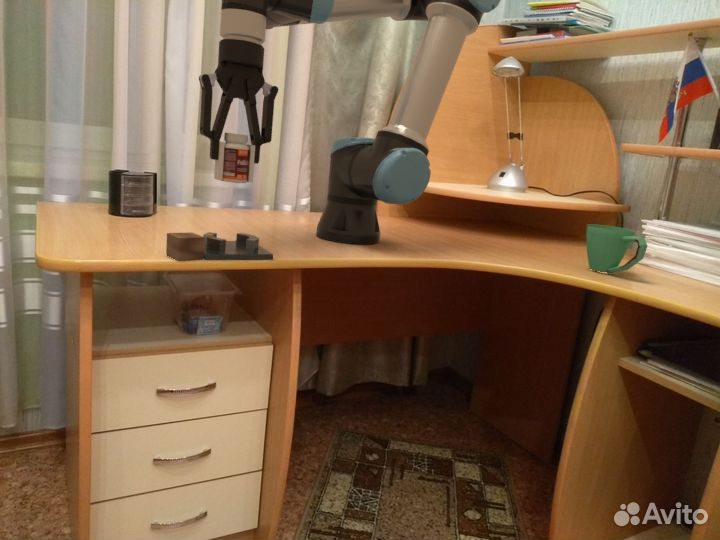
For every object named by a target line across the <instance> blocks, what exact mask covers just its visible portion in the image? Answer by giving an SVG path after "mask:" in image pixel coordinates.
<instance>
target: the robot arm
mask: <svg viewBox="0 0 720 540" xmlns="http://www.w3.org/2000/svg"><path fill="white" fill-rule="evenodd" d="M501 1H502V0H221V9H220V26H219V36H220V37H221V38H222V39H220V41H218V55H217V57H218V59H217V67H216V69H215V71H214V73H209V74H207V73H203V74H200V75H199V76H198V81H199V85H200V88H201V97H200V98H201V100H200V103H201V104H200V118H199V119H200V120H199V121H200V123H199V134H200V135H201V136H204V137H206V138H207V139H209V141H210V142H209V143H210V144H209V158H210V160H213V161H214V171H213V172H214V176H213V179H214V180H217V181H221V180H222V179H223V162H224V145H225V142H226V141H220V140H221V138H222V134H223V131H224V128H225V126H226V123H227V118H228V115H229V113H230V112H229V111H230V108H231V105H232V103H233V102H234V99H239V100H241V101H243V105H244V109H245V113H246V120H247V127H248V132H249V133H248V134H249V139H250V144H248V143H246V145H247V146H248V147H249V158H248V172H247V182H246V183H253V182H254V169H255V164H257V165H258V164H259V163H260V156H261V155H260V154H261V146H262V145H264V144H269V143H271V142H272V136H273V135H272V134H273V125H274V124H273V122H274V110H275V99H276V97H277V95H278V93H279V87H278V86H276V85H272V84H270V83H268V82H267V81H266V80H265V77H264V74H263V71H264V60H265V59H264V58H265V48H264V46H263V44H264V43H265V42H266V34H267V33H266V32H267V30H271V29H272V30H273V28H278V27H288V26H289V27H290V26H298V25H308V24H318V25H321V24H324V23H332V22H343V21H344V22H345V21H354V20H355V21H356V20H367V19H379V18H390V19H392V20H393V21H395V22H400V21H420V22H421V21H425V22H426V21H427V22H428V23H427V25H426V28H425V29H424V33H423V36H422V37H421V41H420V42H419V43H420V44H419V46H418V48H417V50H416V54H415V56H414V59H413V61H412V63H411V66H410V68H409V71H408V74H407V76H406V78H405V82H404V84H403V86H402V88H401V92H400V95H399V96H398V99H397V102H396V104H395V106H394V108H393V109H394V110H393V112H392V115H391V116H390V120H389V122H388V125H386V126H385V127H382V128H380V129H378V131H377V132H376V136H375V138H373V137H364V136H363V137H359V136H357V137H356V136H355V137H353V136H352V137H351V136H350V137H349V136H348V137H339V138H337V139H336V140H334V141H333V142H332V147H331V151H330V155H329V157H330V160H329V161H330V162H329V174H328V185H327V196H326V197H327V198H326V204H325V207H324V209H323V211H322V213H321V216H320V218H319V221H318V223H317V226H316V232H315V233H316V236H317V237H318V238H320V239H324V240H328V241H332V242H338V243H345V244H355V245H357V244H358V245H371V244H372V245H373V244H377V243H380V239H381V238H380V237H381V231H380V225H379V224H380V223H379V219H378V214H377V201H379V202H383V203H385V204H387V205H391V204H392V205H406V204H410V203H412V202H414V201H416V200H417V199H418V198H419V197H421V196H422V194H423V193H424V192H425V190H426V189H427V187H428V185H429V183H430V179H431V172H432V170H431V169H430V166H431V163H430V160H429V158H428V154H429V153H430V147H429V146H428V143H427V137H428V136H429V132H430V130H431V128H432V125H433V123H434V120H435V118H436V116H437V112H438V110H439V108H440V105H441V102H442V100H443V97H444V95H445V93H446V89H447V88H448V84H449V82H450V80H451V77H452V74H453V72H454V71H455V67H456V64H457V62H458V59H459V56H460V54H461V52H462V48H463V46H464V44H465V41H466V39H467V36H470V35H472V34H474V33H476V31H477V30H478V28H479V26H480V23H481V21H482V18H483V15H484V14H485V13H486V14H487V13H490V12H492V11H493V10H495V9H496V8H497V7H498V6H499V5H500V3H501ZM216 82H217V84H218V85H219V87H220V88H221V90H222V93H221V96H220V99H219V100H220V102H219V106H218V108H217V112H216V114H215V115H216V116H215V117H214V121H213V124H212V108H213V107H212V106H213V87H215V84H216ZM261 89H262V95H263V101H262V115H261V127H260V122H259V117H258V109H257V98H256V97H257V96H256V95H257V94H258V93H259V91H260V90H261ZM211 124H212V125H211ZM211 126H212V128H211Z"/></svg>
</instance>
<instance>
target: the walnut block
mask: <svg viewBox="0 0 720 540" xmlns="http://www.w3.org/2000/svg"><path fill="white" fill-rule="evenodd" d="M204 240H205V237H203V235H199V234H197V233H195V232H167V233H166V248H165V249H166V250H165V252H166V254H165V256H166V255H167V256H166V257H168V256H169V257H168V258H170V257H171V259H172V258H173V259H172V260H174V259H175V260H174V261H176V262H191V261H192V262H193V261H204V260H205V259H204Z"/></svg>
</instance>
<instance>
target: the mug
mask: <svg viewBox="0 0 720 540" xmlns="http://www.w3.org/2000/svg"><path fill="white" fill-rule="evenodd" d="M585 231H586V236H585V237H586V254H587V256H586V257H587V261H588V266H589V270H590V269H592V270H595V271H600V272H607V273H613V272H614V273H619V272H623V271H628V270H630V269H632V267H634V266H635V265H637V264H638V263H639V262H640V261H642V260H643V259H644V258H645V254H646V251H647V249H648V244H647V242H646V238H644V236H643V237H642V236H638V235H635V231H634V230H632V229H630V228H629V229H628V228H623V227H620V226H619V227H617V226H611V225H604V224H596V223H594V224H592V223H591V224H590V223H588V224H586V230H585ZM631 243H637V244H636V245H637V249H636V252H635V255H634V256H633V257H632V258H630V259H629V260H628V261H627V262H626V263H624V264H622V265H620V264H621V262H622V260H623V259H624V257H625V255H626V253H627V250H628V248H629V247H630V245H631ZM614 273H613V274H614Z"/></svg>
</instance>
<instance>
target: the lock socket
mask: <svg viewBox="0 0 720 540" xmlns="http://www.w3.org/2000/svg"><path fill="white" fill-rule="evenodd" d="M202 236H203V237H205V240H204V260H205V261H266V260H267V261H272V260H273V261H274V254H273V253H272V252H270V251H269V250H267V249H265V248H264V247H262V246H260V245H259V243H260V238H259V237H257V236H256V235H254V234H249V233H244V232H239V233H236V238H235V240H227V239H224V238H221V237H217V236H218V234H217V232H205V233H204V234H203V235H202Z"/></svg>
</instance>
